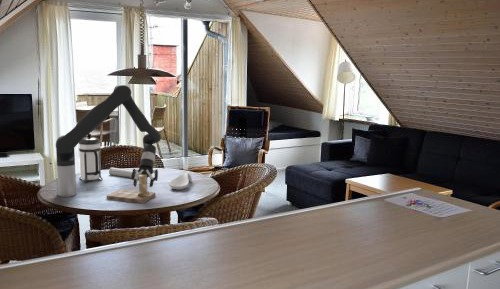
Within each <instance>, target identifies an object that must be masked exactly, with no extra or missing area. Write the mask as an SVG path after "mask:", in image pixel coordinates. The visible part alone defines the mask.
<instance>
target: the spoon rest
mask: <svg viewBox="0 0 500 289" xmlns="http://www.w3.org/2000/svg"><path fill="white" fill-rule="evenodd" d="M192 178H193V177H192V175H191V174H190V172H189V173H186V172H182V173H181V174H179V175H178V176H177V177H174V179H172V180H170V181H169V182H168V186H169V187H170V188H171V189H173V190H175V189H176V190H177V191H178V190H179V191H180V190H181V191H182V190H184V189H186V188H188V185H189V183H191V182H193V179H192Z"/></svg>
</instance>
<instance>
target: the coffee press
mask: <svg viewBox="0 0 500 289" xmlns="http://www.w3.org/2000/svg"><path fill="white" fill-rule="evenodd" d="M78 145H79V147H78V150H79V164H80V165H79V166H80V167H79V168H80V171H79V172H80V176H79V178H78V179H79V180H80V181H81V180H83V182H84V184H88V182H89V181H93V180H99V181H100V182H102V181H104V180H103V178H102V175H101V174H102V172H101V171H102V170H101V168H102V167H101V140H100V139H99V138H98V137H93V136H92V134H91V133H89V134H88V135H87V136H85V137H84V138H83V139H82V140H81V141H80V142H79V143H78Z"/></svg>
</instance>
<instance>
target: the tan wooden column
mask: <svg viewBox="0 0 500 289" xmlns="http://www.w3.org/2000/svg"><path fill="white" fill-rule="evenodd" d="M138 191H139V193H138V196H147V195H148V194H149V192H150V191H148V178H147V175H142V174H141V175H139V179H138Z"/></svg>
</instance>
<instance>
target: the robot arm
mask: <svg viewBox="0 0 500 289" xmlns="http://www.w3.org/2000/svg"><path fill="white" fill-rule="evenodd" d="M121 105H122V106H123V107H124V108H125V109H126V111H127V112H128V114H129V116H130V117H131V119H132V121H133V123H134V124H135V126H136V127H137V129H138V130H139V131H140V132H142V133H146V134H145V135H144V136H143V137H142V145H143V152H142V154H141V157H140V163H139V168H138V169H135V168H133V169H132V171H133V172H132V175H131V180H132V181H133V183H132V185H133V186H134V188H136V187H137V183H138V181H139V175H141V174H142V175H147V179H148V178H149V179H150V181H149V182H150V183H149V188H152V187H153V186H154V183H155V181H158V177H159V170H158V169H155V170H154V166H155V161H156V151H157V150H156V149H157V147H156V146H155V144H157V143H160V142H161V139H162V137H161V133H160V132H159V131H158V130H157V129H156V128H155V127H154V126H153V125H152V124H150V122H149V120H148V118H147V117H146V116H145V115H144V113H143V112H142V111H141V109H140V108H139V107H138V105H137V104H136V102H135V100H134V99H133V96H132V90H131V88H130V87H129V86H128V85H127V84H118V85H116V86H115V87H114V88H113V90H112V92H111V94H110V95H108V96H107V98H105V100H103V101H101V102H100V103H98V104H97V105H95V106H94V107H92V108H91V109H89V111H88V112H86V113H85V114H84V116H82V118H80V120H78V122H77V124H76V125H75V126H74V127H73V128H72V129H71V130H70V131H68V133H66V134H65V135H60V136H59V137H57V139H56V142H55V149H56V152H55V153H56V170H57V171H56V173H57V175H56V176H57V177H56V178H55V184H56V186H55V187H56V195H57V196H59V197H62V198H63V197H64V198H65V197H67V198H68V197H72V196H76V195H77V181H76V180H77V177H76V158H75V156H76V155H75V148H76V147H77V145H79V142H80V141H81V140H82V139H83V138H86V137H88V136H87V135H88V134H91V133H92V132H93V131H94V130H95V129H97V128H98V127H99V126H100V125H102V123H103V122H105V120H106V119H108V118H109V117H110V115H111V114H112V113H113V112H114V111H115V110H116V109H117V108H118V107H120V106H121ZM137 172H138V174H137V176H136V177H135V174H136V173H137ZM153 174H154V177H153V176H152V175H153Z"/></svg>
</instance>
